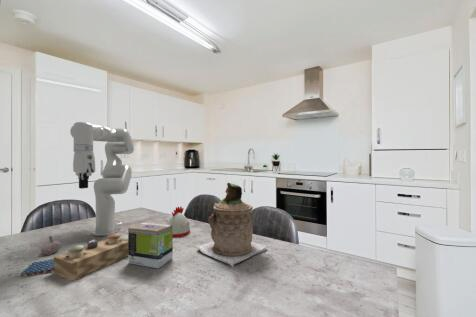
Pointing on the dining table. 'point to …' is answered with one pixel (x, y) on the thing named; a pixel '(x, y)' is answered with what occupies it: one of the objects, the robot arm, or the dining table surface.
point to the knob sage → (75, 251)
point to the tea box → (150, 244)
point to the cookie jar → (231, 229)
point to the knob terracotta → (113, 238)
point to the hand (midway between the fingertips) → (83, 188)
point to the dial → (92, 244)
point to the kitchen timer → (179, 223)
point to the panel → (90, 259)
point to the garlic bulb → (50, 247)
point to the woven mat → (39, 268)
